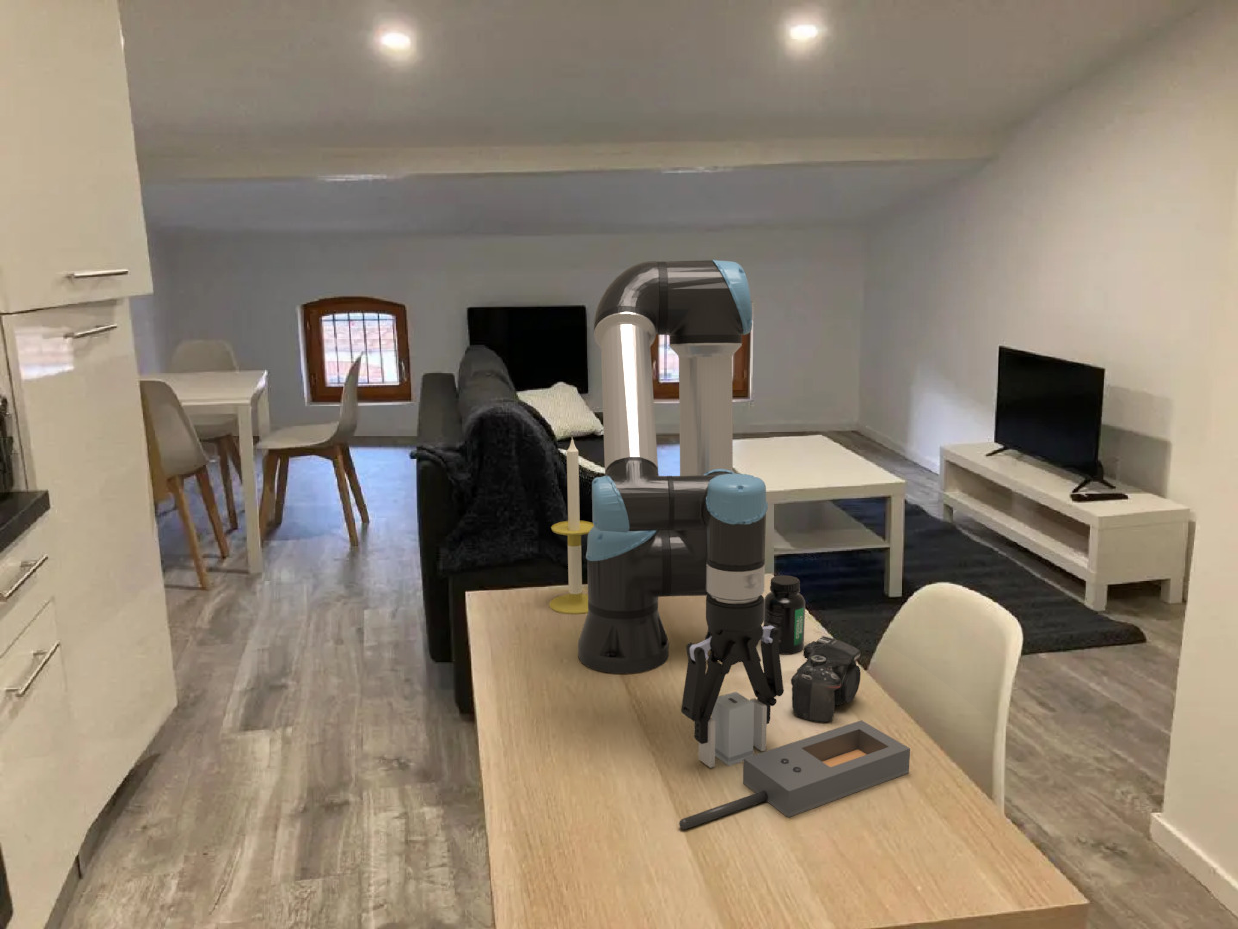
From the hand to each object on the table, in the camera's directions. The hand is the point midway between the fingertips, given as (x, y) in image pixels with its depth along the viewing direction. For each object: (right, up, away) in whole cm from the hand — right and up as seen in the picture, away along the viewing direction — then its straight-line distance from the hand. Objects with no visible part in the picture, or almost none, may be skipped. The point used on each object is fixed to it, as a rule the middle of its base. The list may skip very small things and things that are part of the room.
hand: (732, 754), depth 136 cm
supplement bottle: (+13, +8, +35) cm, 38 cm away
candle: (-24, +12, +56) cm, 62 cm away
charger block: (0, 0, 0) cm, 0 cm away
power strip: (+6, -2, -9) cm, 11 cm away
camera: (+16, +3, +15) cm, 22 cm away
